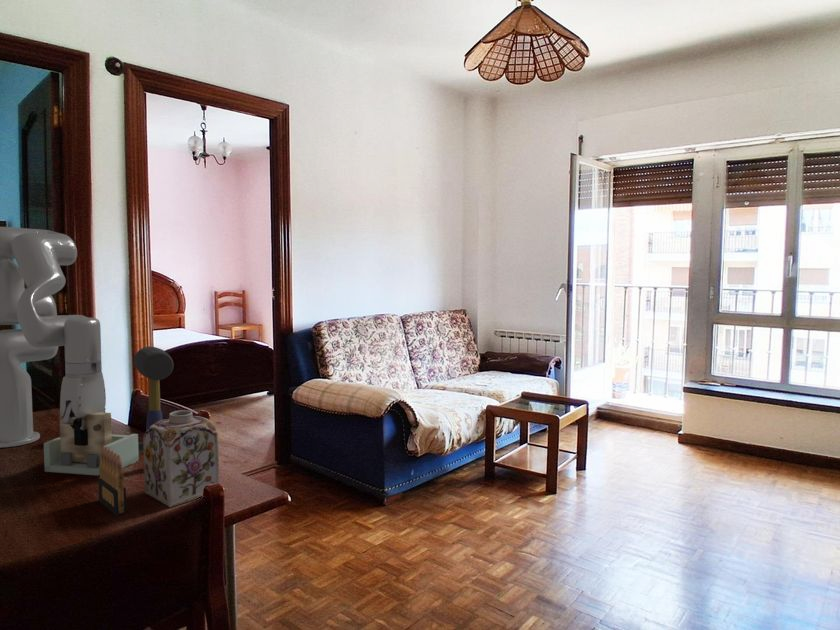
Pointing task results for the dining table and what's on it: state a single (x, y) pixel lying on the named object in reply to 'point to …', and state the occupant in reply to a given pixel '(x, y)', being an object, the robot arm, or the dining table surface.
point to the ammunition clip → (112, 482)
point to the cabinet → (89, 456)
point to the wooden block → (97, 436)
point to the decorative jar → (180, 458)
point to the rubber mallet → (153, 377)
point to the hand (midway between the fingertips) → (85, 442)
